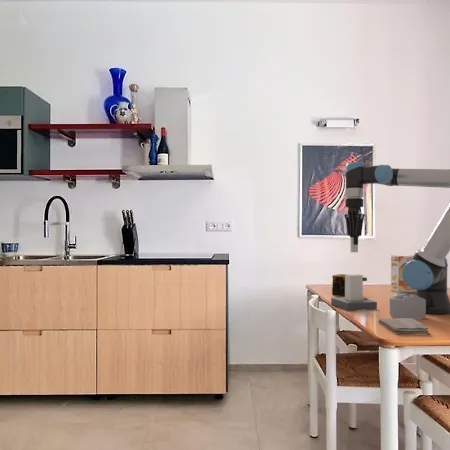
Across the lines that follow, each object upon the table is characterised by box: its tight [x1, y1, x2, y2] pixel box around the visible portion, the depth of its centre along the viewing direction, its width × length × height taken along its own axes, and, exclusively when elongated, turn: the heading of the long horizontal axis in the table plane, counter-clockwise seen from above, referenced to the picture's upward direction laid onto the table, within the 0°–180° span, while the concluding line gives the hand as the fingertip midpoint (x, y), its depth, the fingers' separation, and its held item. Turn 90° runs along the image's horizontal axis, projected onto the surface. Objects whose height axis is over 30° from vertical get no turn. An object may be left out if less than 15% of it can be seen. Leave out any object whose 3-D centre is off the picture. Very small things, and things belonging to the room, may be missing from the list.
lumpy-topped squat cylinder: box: [389, 292, 427, 320], centre depth 178 cm, size 10×13×9 cm
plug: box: [344, 273, 368, 301], centre depth 198 cm, size 9×4×14 cm, turn 105°
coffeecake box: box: [390, 254, 417, 294], centre depth 244 cm, size 15×7×20 cm, turn 105°
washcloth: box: [378, 317, 430, 335], centre depth 156 cm, size 12×18×3 cm, turn 1°
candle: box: [331, 273, 345, 297], centre depth 232 cm, size 10×10×10 cm
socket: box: [330, 296, 378, 311], centre depth 197 cm, size 14×14×4 cm
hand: (354, 252), depth 197 cm, fingers closed
